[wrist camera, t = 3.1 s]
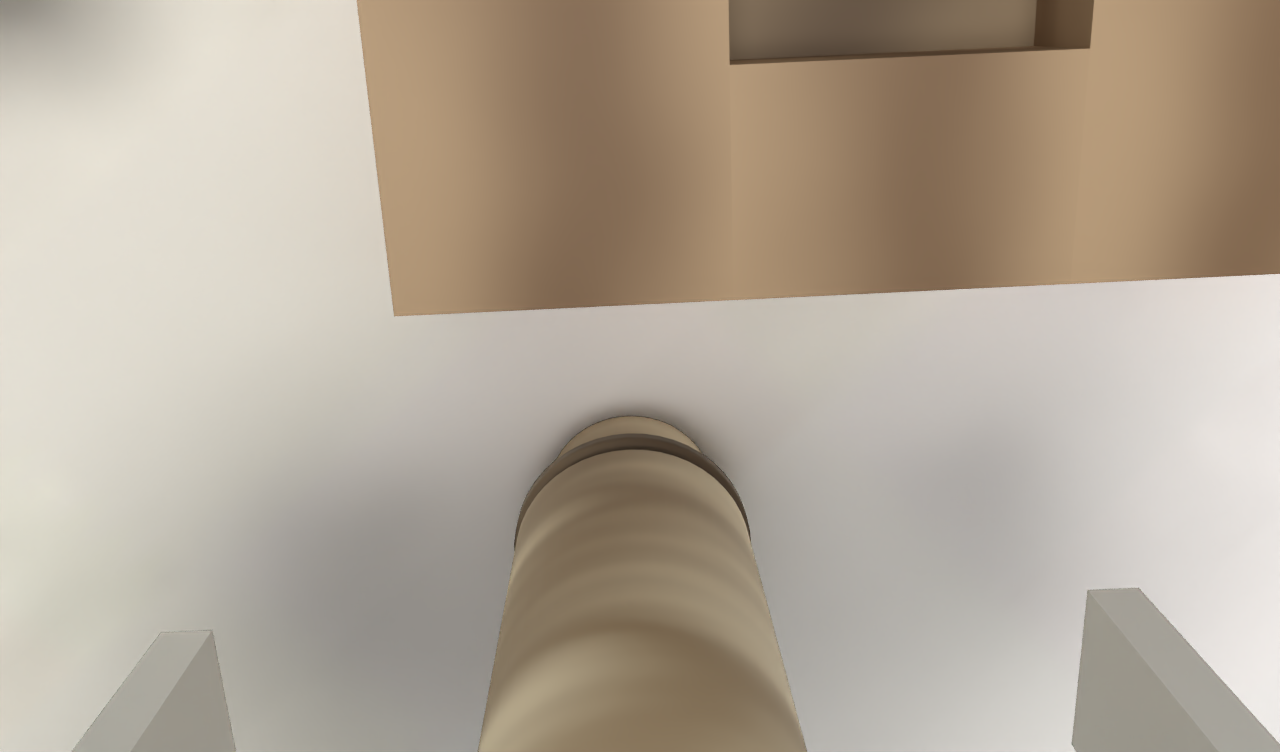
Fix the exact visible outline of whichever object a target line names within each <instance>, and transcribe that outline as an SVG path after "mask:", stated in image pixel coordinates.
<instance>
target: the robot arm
mask: <svg viewBox="0 0 1280 752" xmlns="http://www.w3.org/2000/svg"><path fill="white" fill-rule="evenodd" d="M1072 745H1073V747H1074V749H1075V750H1076V752H1280V744H1279V743H1278V742H1277V741H1276V740H1275V738H1274V737H1273V736H1272V735H1271V734H1270V733H1269V732H1268V731H1267V730H1266V728H1265V727H1264V726H1263V725H1262V724H1261V723H1260V722H1259V721H1258V720H1257V718H1256V717H1255V716H1254V715H1253V714H1252V713H1251V712H1250V711H1249V710H1248V708H1247V707H1246V706H1245V705H1244V704H1243V703H1242V702H1241V701H1240V700H1239V699H1238V697H1237V696H1236V695H1235V694H1234V693H1233V692H1232V691H1231V690H1230V689H1229V687H1228V686H1227V685H1226V684H1225V683H1224V682H1223V681H1222V680H1221V679H1220V677H1219V676H1218V675H1217V674H1216V673H1215V672H1214V671H1213V670H1212V669H1211V667H1210V666H1209V665H1208V664H1207V663H1206V662H1205V661H1204V660H1203V659H1202V658H1201V656H1200V655H1199V654H1198V653H1197V652H1196V651H1195V650H1194V649H1193V648H1192V646H1191V645H1190V644H1189V643H1188V642H1187V641H1186V640H1185V639H1184V638H1183V636H1182V635H1181V634H1180V633H1179V632H1178V631H1177V630H1176V629H1175V628H1174V626H1173V625H1172V624H1171V623H1170V622H1169V621H1168V620H1167V619H1166V618H1165V617H1164V615H1163V614H1162V613H1161V612H1160V611H1159V610H1158V609H1157V608H1156V607H1155V605H1154V604H1153V603H1152V602H1151V601H1150V600H1149V599H1148V598H1147V597H1146V595H1145V594H1144V593H1143V592H1142V591H1141V590H1140V589H1139V588H1124V589H1102V590H1088V591H1087V600H1086V610H1085V620H1084V630H1083V639H1082V649H1081V659H1080V668H1079V678H1078V688H1077V698H1076V707H1075V717H1074V727H1073V736H1072ZM72 752H236V750H235V745H234V739H233V734H232V729H231V724H230V719H229V714H228V709H227V704H226V699H225V694H224V688H223V683H222V678H221V673H220V668H219V663H218V658H217V653H216V648H215V642H214V637H213V632H212V630H203V631H181V632H161V633H160V634H159V636H158V637H157V638H156V640H155V641H154V642H153V644H152V645H151V646H150V648H149V649H148V650H147V652H146V653H145V654H144V656H143V657H142V658H141V660H140V661H139V662H138V664H137V665H136V666H135V668H134V669H133V670H132V672H131V673H130V674H129V676H128V677H127V678H126V680H125V681H124V682H123V684H122V685H121V686H120V688H119V689H118V690H117V692H116V693H115V694H114V696H113V697H112V698H111V700H110V701H109V702H108V704H107V705H106V706H105V708H104V709H103V710H102V712H101V713H100V714H99V716H98V717H97V718H96V720H95V721H94V722H93V724H92V725H91V726H90V728H89V729H88V730H87V732H86V733H85V734H84V736H83V737H82V738H81V740H80V741H79V742H78V744H77V745H76V746H75V748H74V749H73V750H72Z"/></svg>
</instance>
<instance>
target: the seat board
mask: <svg viewBox="0 0 1280 752" xmlns="http://www.w3.org/2000/svg"><path fill="white" fill-rule="evenodd" d="M357 6H358V15H359V23H360V32H361V40H362V49H363V57H364V66H365V74H366V82H367V91H368V99H369V108H370V116H371V125H372V133H373V142H374V150H375V158H376V167H377V175H378V184H379V192H380V201H381V209H382V218H383V226H384V234H385V243H386V251H387V260H388V268H389V277H390V285H391V294H392V302H393V310H394V316H410V315H431V314H452V313H472V312H493V311H514V310H535V309H556V308H576V307H597V306H618V305H639V304H660V303H680V302H701V301H722V300H743V299H764V298H784V297H805V296H826V295H847V294H868V293H888V292H909V291H930V290H951V289H972V288H992V287H1013V286H1034V285H1055V284H1076V283H1096V282H1117V281H1138V280H1159V279H1180V278H1200V277H1221V276H1242V275H1263V274H1280V0H357Z"/></svg>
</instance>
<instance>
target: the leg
mask: <svg viewBox="0 0 1280 752" xmlns="http://www.w3.org/2000/svg"><path fill="white" fill-rule="evenodd" d="M478 752H807V750H806V746H805V743H804V739H803V735H802V732H801V728H800V724H799V720H798V717H797V713H796V709H795V705H794V702H793V698H792V694H791V691H790V687H789V683H788V679H787V676H786V672H785V668H784V665H783V661H782V657H781V653H780V650H779V646H778V642H777V639H776V635H775V631H774V627H773V624H772V620H771V616H770V612H769V609H768V605H767V601H766V598H765V594H764V590H763V586H762V583H761V579H760V575H759V572H758V568H757V564H756V560H755V557H754V553H753V549H752V545H751V538H750V530H749V525H748V521H747V517H746V513H745V510H744V507H743V504H742V502H741V499H740V497H739V495H738V493H737V491H736V489H735V488H734V486H733V484H732V483H731V481H730V480H729V479H728V477H727V476H726V475H725V474H724V472H723V471H722V470H721V469H720V468H719V467H718V466H717V465H716V464H715V463H714V462H713V461H711V460H710V459H709V458H707V457H706V456H704V455H703V454H702V453H701V451H700V450H699V449H698V447H697V446H696V445H695V444H694V443H693V442H692V441H691V440H690V439H689V438H688V437H687V436H686V435H685V434H683V433H682V432H681V431H679V430H678V429H676V428H674V427H673V426H671V425H669V424H666V423H664V422H661V421H659V420H655V419H651V418H647V417H639V416H624V417H615V418H611V419H607V420H604V421H601V422H598V423H596V424H593V425H592V426H590V427H588V428H586V429H584V430H583V431H581V432H580V433H579V434H577V435H576V436H575V437H574V438H573V439H572V440H570V441H569V442H568V443H567V445H566V446H565V447H564V448H563V449H562V451H561V452H560V454H559V456H558V457H557V459H556V460H555V461H554V462H553V463H552V464H551V465H550V466H548V467H547V468H546V469H545V470H544V471H543V473H542V474H541V475H540V476H539V477H538V479H537V480H536V481H535V482H534V484H533V486H532V487H531V489H530V490H529V492H528V494H527V496H526V498H525V500H524V503H523V505H522V507H521V511H520V514H519V518H518V522H517V527H516V534H515V542H514V558H513V563H512V569H511V574H510V580H509V585H508V590H507V596H506V601H505V607H504V612H503V617H502V623H501V628H500V634H499V639H498V644H497V650H496V655H495V661H494V666H493V671H492V677H491V682H490V688H489V693H488V698H487V704H486V709H485V715H484V720H483V725H482V731H481V736H480V742H479V747H478Z"/></svg>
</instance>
